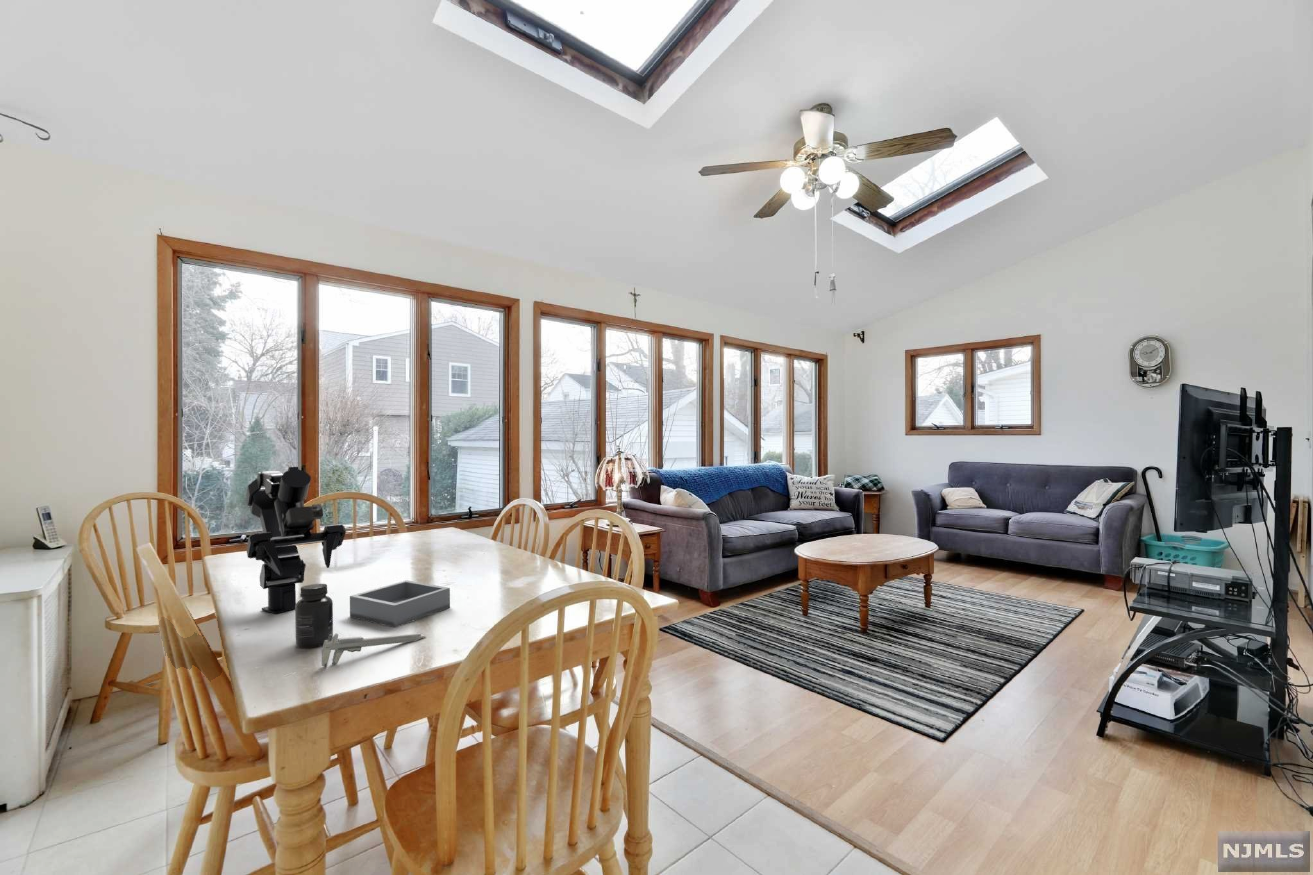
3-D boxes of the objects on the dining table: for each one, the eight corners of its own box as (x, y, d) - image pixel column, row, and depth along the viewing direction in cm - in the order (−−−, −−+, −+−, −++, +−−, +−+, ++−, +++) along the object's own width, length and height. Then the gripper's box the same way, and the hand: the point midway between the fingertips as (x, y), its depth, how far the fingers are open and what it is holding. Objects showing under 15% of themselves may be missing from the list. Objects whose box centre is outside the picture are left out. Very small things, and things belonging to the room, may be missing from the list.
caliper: (323, 670, 107) (323, 636, 107) (321, 668, 108) (321, 635, 108) (426, 638, 123) (425, 610, 123) (423, 637, 124) (423, 609, 124)
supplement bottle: (339, 640, 122) (339, 584, 121) (306, 651, 116) (305, 592, 116) (322, 634, 125) (322, 580, 125) (289, 644, 119) (288, 587, 119)
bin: (350, 616, 137) (349, 596, 137) (406, 599, 151) (406, 580, 151) (394, 627, 130) (394, 605, 130) (450, 607, 144) (449, 587, 144)
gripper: (248, 497, 123) (259, 555, 116) (342, 490, 137) (358, 541, 129) (242, 529, 129) (252, 586, 121) (333, 520, 142) (348, 571, 134)
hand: (305, 570), depth 126 cm, fingers open, 9 cm apart
